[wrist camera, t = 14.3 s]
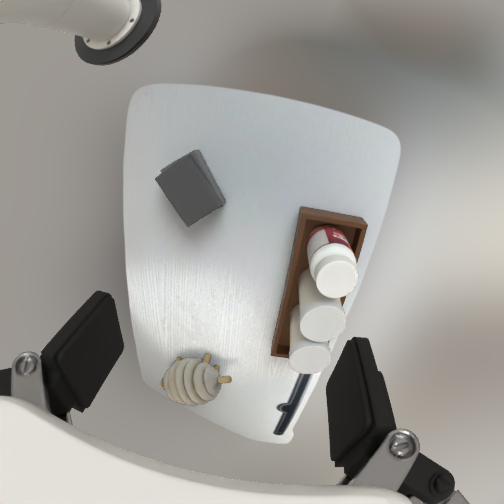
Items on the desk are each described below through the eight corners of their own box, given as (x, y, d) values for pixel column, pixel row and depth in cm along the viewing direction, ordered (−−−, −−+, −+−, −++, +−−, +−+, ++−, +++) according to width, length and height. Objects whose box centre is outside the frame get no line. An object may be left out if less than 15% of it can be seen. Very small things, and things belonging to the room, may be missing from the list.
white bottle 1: (296, 266, 43) (299, 307, 33) (335, 264, 42) (348, 304, 33) (297, 298, 46) (299, 343, 36) (334, 296, 45) (344, 340, 35)
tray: (300, 206, 40) (301, 212, 37) (362, 217, 40) (368, 224, 37) (271, 343, 52) (270, 355, 49) (319, 349, 51) (321, 361, 48)
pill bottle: (353, 241, 41) (372, 278, 30) (325, 268, 43) (335, 310, 33) (325, 215, 39) (339, 246, 29) (297, 244, 42) (301, 282, 32)
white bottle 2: (288, 302, 46) (288, 346, 36) (324, 300, 45) (332, 344, 36) (289, 329, 49) (289, 374, 39) (323, 327, 48) (329, 372, 38)
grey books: (165, 168, 40) (151, 173, 35) (200, 148, 38) (189, 151, 34) (192, 219, 43) (182, 229, 38) (228, 202, 41) (221, 210, 37)
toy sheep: (158, 352, 57) (140, 388, 47) (221, 337, 53) (208, 379, 43) (183, 381, 61) (170, 416, 51) (244, 370, 56) (237, 411, 46)
